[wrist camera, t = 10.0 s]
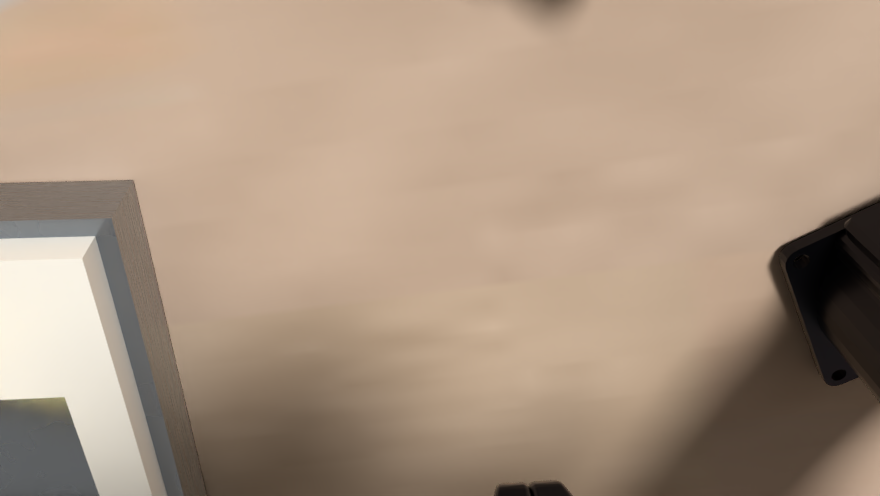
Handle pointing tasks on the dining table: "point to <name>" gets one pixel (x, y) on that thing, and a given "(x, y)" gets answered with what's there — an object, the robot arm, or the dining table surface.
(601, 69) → the dining table surface
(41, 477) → the grey flat block
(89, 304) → the cover
